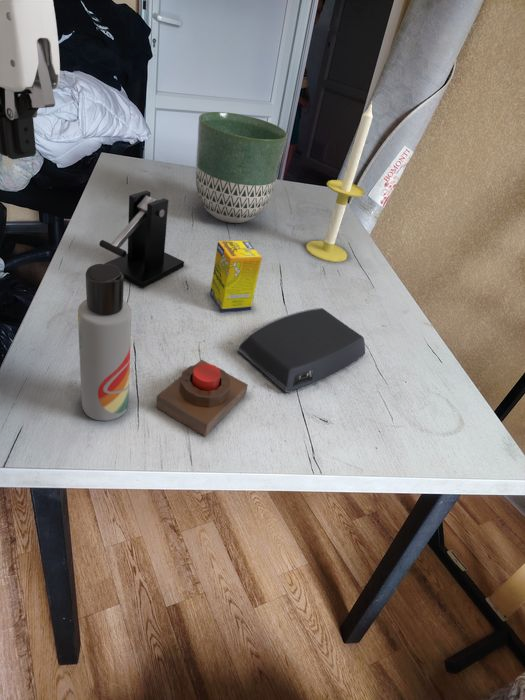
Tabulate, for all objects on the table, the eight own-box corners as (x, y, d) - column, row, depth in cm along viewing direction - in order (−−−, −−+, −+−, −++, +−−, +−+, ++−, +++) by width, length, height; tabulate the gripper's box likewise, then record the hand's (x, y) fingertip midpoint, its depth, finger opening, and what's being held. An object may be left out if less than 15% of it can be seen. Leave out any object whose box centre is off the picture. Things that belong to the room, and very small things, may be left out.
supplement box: (208, 294, 88) (217, 240, 81) (238, 292, 90) (248, 239, 84) (220, 313, 84) (229, 257, 77) (251, 310, 86) (263, 256, 80)
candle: (352, 252, 115) (402, 106, 96) (338, 266, 107) (389, 111, 88) (315, 237, 118) (356, 92, 98) (299, 250, 110) (340, 95, 91)
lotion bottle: (136, 411, 62) (143, 277, 50) (94, 428, 58) (91, 288, 47) (115, 385, 65) (116, 252, 53) (74, 399, 61) (66, 261, 49)
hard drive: (232, 348, 76) (236, 328, 74) (313, 318, 88) (319, 299, 86) (288, 398, 70) (295, 377, 67) (367, 358, 82) (375, 339, 79)
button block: (205, 437, 61) (209, 415, 58) (155, 407, 63) (157, 385, 61) (245, 395, 68) (250, 374, 66) (200, 370, 71) (203, 349, 68)
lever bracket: (142, 288, 85) (146, 215, 77) (104, 269, 87) (103, 196, 79) (183, 266, 94) (191, 199, 86) (147, 249, 96) (151, 182, 88)
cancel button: (208, 395, 62) (210, 385, 61) (186, 382, 63) (187, 372, 62) (224, 381, 64) (226, 371, 63) (202, 369, 65) (203, 359, 64)
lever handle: (124, 261, 80) (119, 252, 78) (102, 250, 82) (96, 241, 80) (166, 211, 84) (162, 202, 82) (144, 202, 86) (140, 192, 84)
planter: (183, 226, 108) (192, 126, 95) (195, 196, 124) (205, 106, 111) (267, 242, 110) (288, 146, 97) (268, 210, 125) (286, 124, 113)
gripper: (-110, -94, 39) (-63, 138, 50) (17, -61, 35) (39, 185, 46) (-25, -75, 45) (1, 130, 56) (94, -44, 41) (97, 172, 52)
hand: (18, 154), depth 51 cm, fingers closed
